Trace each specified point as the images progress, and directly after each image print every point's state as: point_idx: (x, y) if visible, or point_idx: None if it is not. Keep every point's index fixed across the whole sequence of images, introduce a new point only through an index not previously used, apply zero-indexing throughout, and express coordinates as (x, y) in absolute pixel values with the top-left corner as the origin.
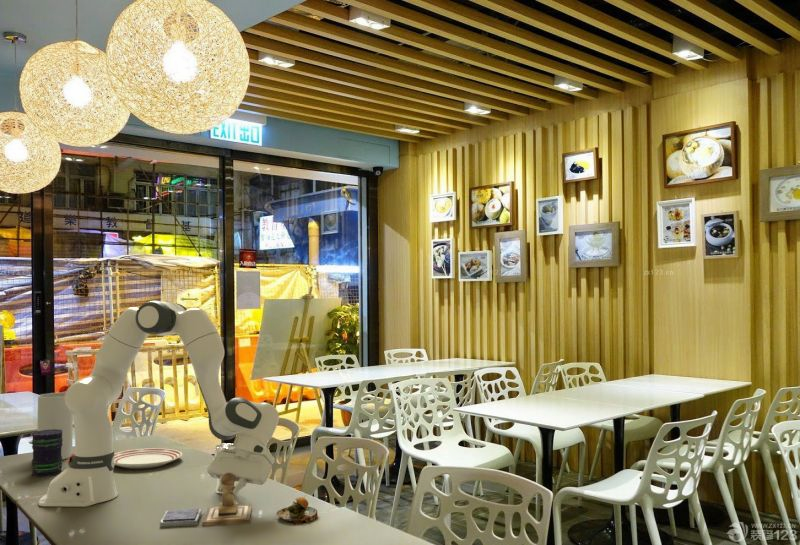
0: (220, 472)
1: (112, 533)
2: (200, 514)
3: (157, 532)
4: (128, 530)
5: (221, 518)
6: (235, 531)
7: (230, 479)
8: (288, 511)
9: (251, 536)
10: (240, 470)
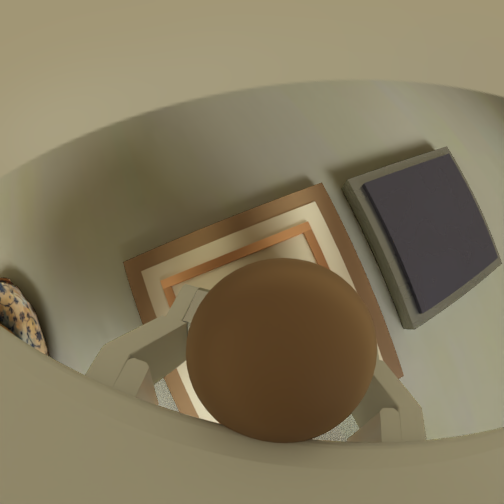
0: (450, 447)
1: (486, 115)
2: (396, 299)
3: (413, 117)
4: (479, 132)
5: (257, 239)
6: (152, 164)
7: (212, 288)
8: None
9: (91, 145)
10: (115, 478)
